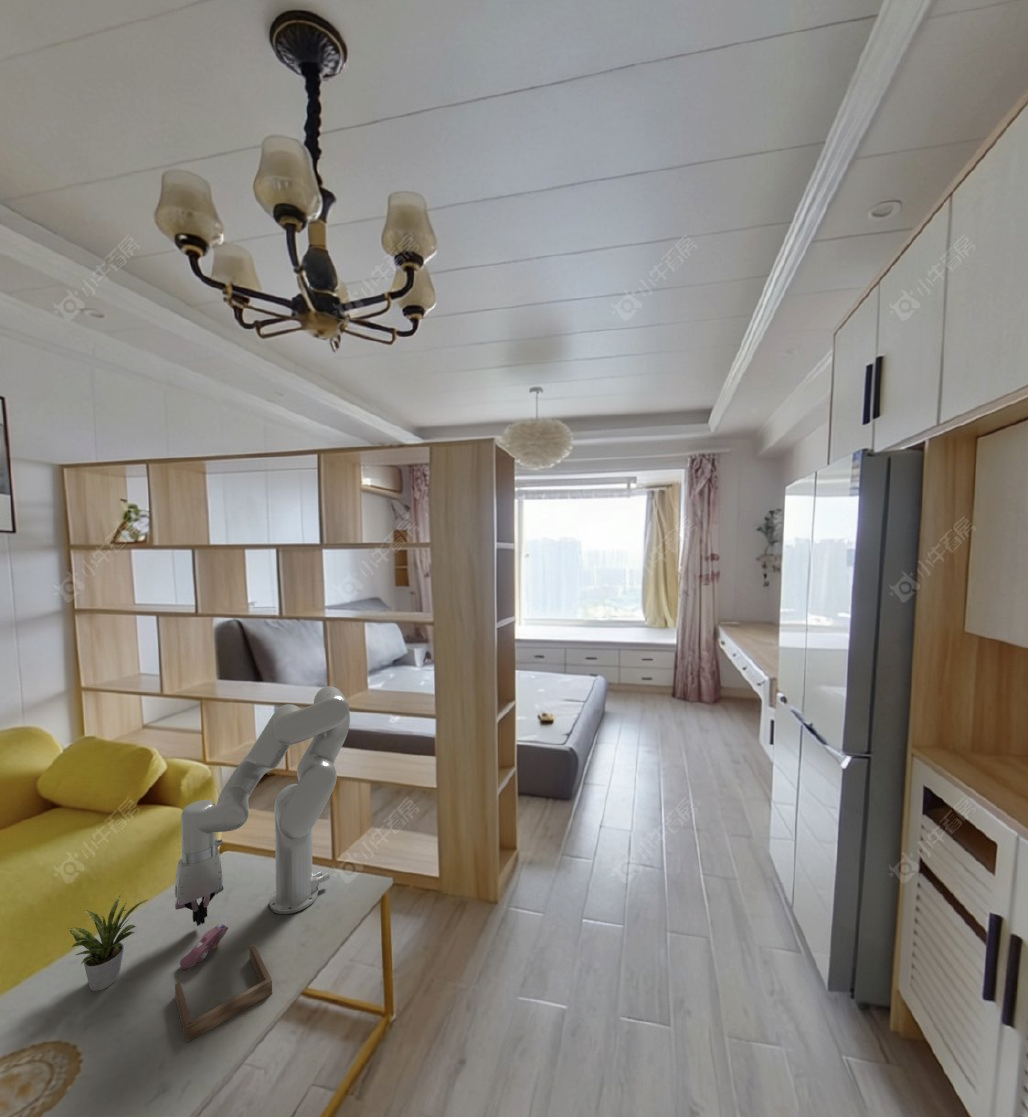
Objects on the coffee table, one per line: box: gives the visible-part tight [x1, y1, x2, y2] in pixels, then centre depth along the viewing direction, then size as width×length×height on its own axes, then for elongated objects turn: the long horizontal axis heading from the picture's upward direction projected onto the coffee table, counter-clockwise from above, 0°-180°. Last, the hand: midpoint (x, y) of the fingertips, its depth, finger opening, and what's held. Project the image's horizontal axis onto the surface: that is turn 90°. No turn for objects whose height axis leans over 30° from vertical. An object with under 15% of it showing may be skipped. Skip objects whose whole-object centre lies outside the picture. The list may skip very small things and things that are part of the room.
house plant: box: [67, 894, 148, 992], centre depth 113 cm, size 14×14×16 cm
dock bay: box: [174, 944, 273, 1043], centre depth 108 cm, size 16×14×3 cm
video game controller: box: [179, 923, 229, 970], centre depth 119 cm, size 10×5×7 cm, turn 169°
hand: (200, 921), depth 127 cm, fingers closed
